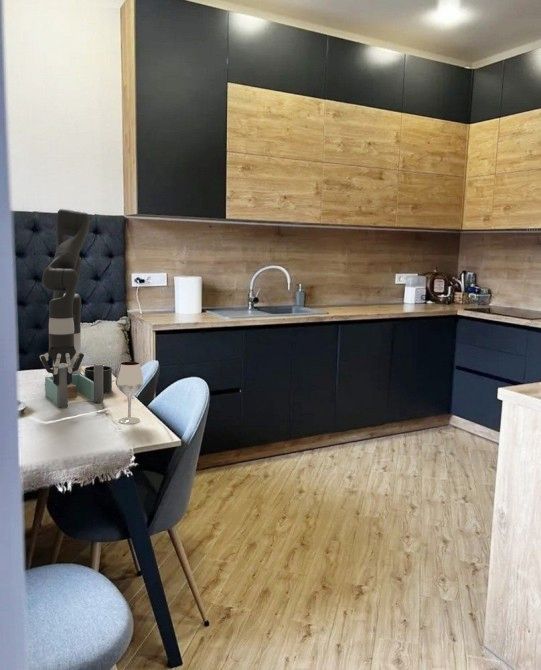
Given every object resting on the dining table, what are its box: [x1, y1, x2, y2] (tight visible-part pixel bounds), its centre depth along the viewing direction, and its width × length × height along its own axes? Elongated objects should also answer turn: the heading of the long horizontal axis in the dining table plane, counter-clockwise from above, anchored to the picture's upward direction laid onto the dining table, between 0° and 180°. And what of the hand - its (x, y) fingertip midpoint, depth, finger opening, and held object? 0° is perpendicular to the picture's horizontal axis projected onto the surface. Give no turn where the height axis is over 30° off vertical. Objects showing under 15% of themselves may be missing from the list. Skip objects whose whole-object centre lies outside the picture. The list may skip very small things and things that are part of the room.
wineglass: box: [115, 361, 144, 425], centre depth 169 cm, size 8×8×18 cm
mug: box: [84, 365, 113, 395], centre depth 202 cm, size 9×12×9 cm
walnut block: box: [68, 384, 77, 399], centre depth 192 cm, size 4×4×4 cm
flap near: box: [57, 367, 69, 409], centre depth 179 cm, size 3×5×13 cm, turn 34°
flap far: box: [90, 363, 104, 404], centre depth 186 cm, size 3×5×13 cm, turn 57°
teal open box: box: [44, 373, 93, 406], centre depth 191 cm, size 14×12×7 cm
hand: (62, 384), depth 178 cm, fingers closed on flap near, 3 cm apart
